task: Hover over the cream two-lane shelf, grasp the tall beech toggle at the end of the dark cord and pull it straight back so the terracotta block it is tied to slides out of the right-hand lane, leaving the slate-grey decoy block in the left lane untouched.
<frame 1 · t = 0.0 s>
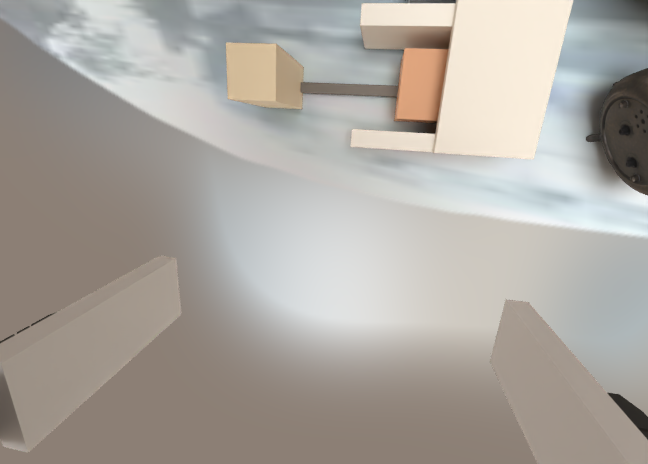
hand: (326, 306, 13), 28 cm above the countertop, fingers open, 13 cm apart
alarm clock: (608, 132, 33), on the countertop
shelf lanes: (432, 41, 33), on the countertop
corded block: (425, 93, 35), on the countertop
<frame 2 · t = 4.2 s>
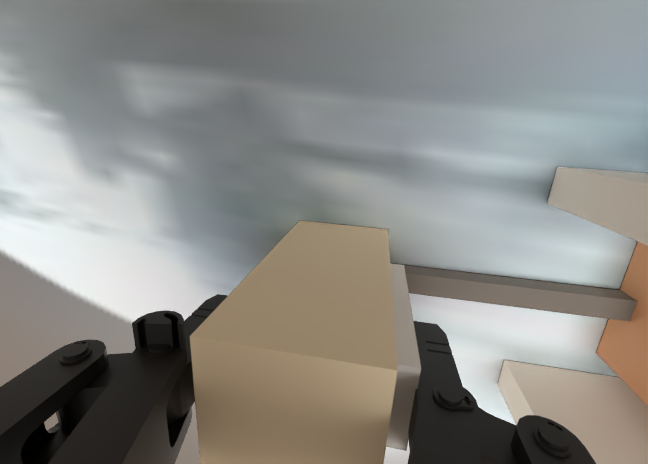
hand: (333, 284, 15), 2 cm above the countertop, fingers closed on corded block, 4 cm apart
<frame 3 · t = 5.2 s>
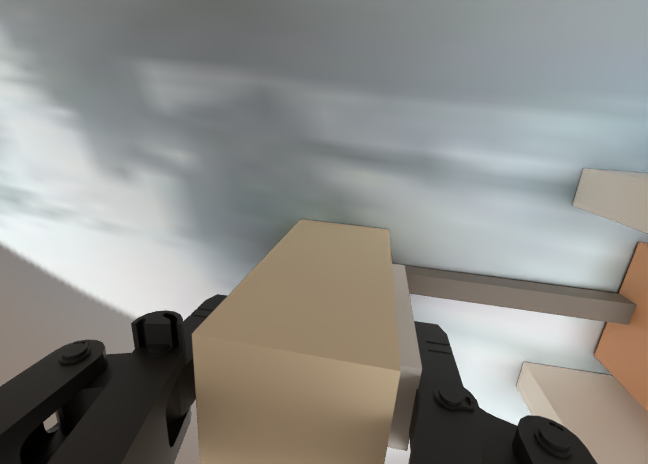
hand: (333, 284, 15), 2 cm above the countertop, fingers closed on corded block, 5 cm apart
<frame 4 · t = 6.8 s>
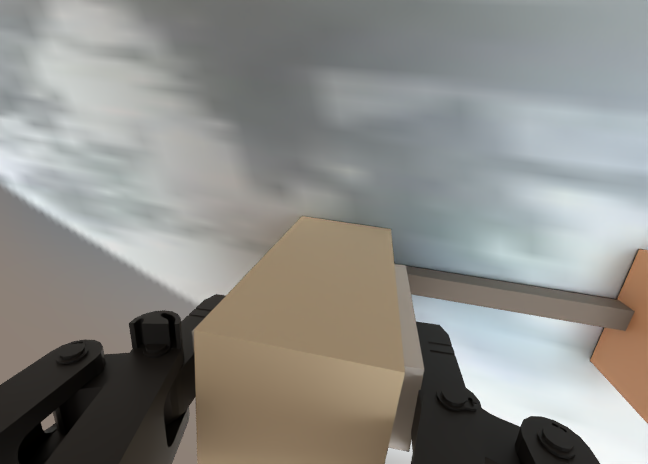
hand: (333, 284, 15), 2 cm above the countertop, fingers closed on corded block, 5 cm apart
when the fingers open (2 cm above the countertop, at t = 7.9 s): corded block stays where it is, on the countertop.
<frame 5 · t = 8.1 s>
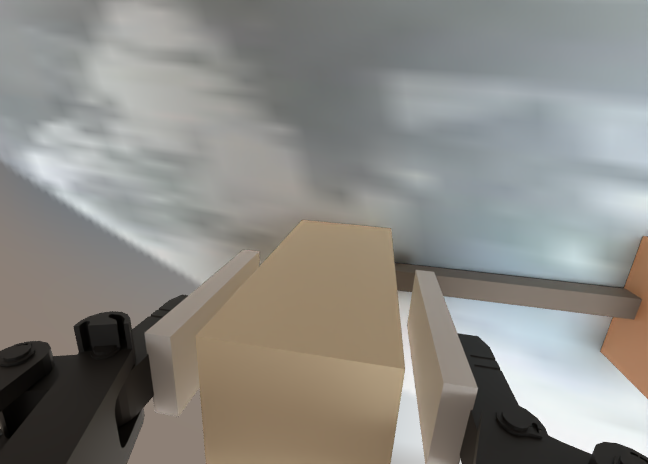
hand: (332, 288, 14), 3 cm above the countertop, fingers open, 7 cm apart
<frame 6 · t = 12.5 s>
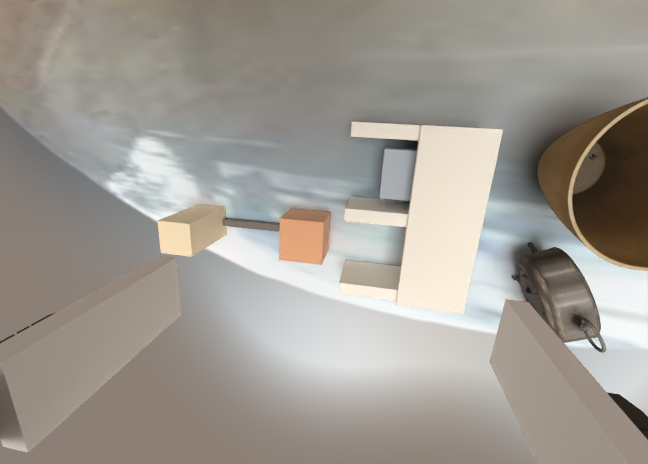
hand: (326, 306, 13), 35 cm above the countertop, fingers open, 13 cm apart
alarm clock: (528, 272, 46), on the countertop
plant pot: (565, 166, 41), on the countertop
shelf lanes: (399, 206, 46), on the countertop
corded block: (310, 229, 49), on the countertop
slate block: (403, 170, 44), resting in shelf lanes
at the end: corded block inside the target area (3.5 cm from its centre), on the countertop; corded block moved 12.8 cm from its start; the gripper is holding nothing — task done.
